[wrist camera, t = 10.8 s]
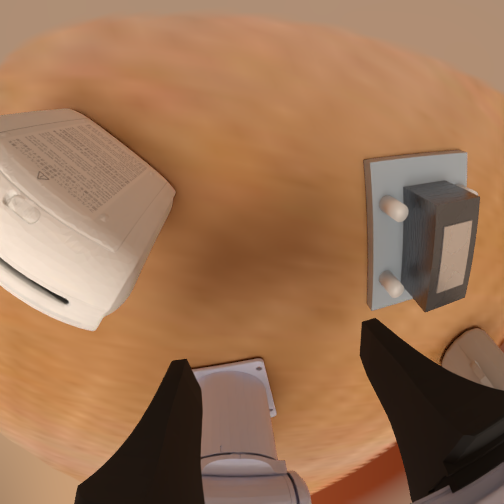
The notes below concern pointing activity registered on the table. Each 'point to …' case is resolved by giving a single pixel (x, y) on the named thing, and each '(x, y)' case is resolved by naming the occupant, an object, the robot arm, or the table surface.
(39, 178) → the photo printer
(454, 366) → the water bottle
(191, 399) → the robot arm
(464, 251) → the block
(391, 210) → the grey mounting plate
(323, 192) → the table surface
